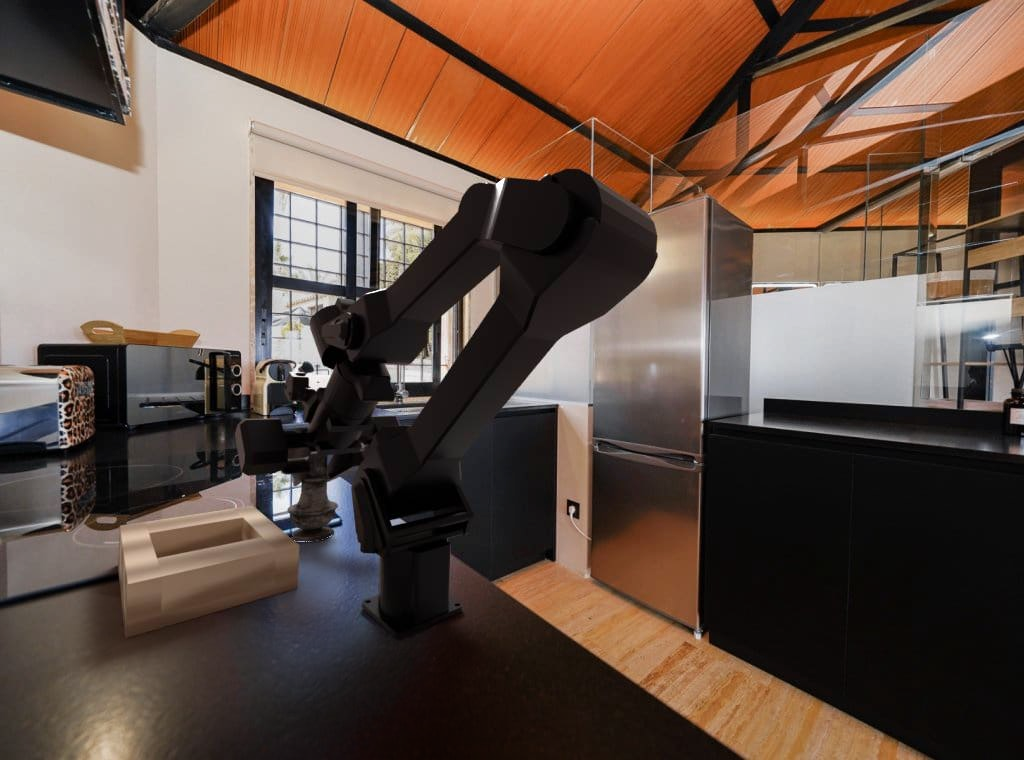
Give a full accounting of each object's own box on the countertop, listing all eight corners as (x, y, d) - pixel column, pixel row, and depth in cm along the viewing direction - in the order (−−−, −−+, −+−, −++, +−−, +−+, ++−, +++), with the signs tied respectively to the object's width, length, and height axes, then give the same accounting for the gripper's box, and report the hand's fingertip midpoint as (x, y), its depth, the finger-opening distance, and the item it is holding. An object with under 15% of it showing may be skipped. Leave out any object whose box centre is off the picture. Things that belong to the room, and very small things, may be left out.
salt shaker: (317, 545, 50) (321, 445, 50) (274, 540, 51) (279, 442, 51) (346, 529, 56) (350, 439, 56) (307, 525, 57) (311, 437, 57)
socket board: (297, 587, 40) (299, 545, 40) (125, 638, 31) (128, 584, 31) (251, 538, 52) (252, 505, 52) (117, 564, 43) (119, 525, 43)
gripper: (400, 357, 58) (361, 430, 65) (243, 344, 44) (217, 436, 52) (430, 418, 52) (384, 490, 59) (260, 424, 39) (228, 515, 46)
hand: (310, 481), depth 54 cm, fingers closed on salt shaker, 4 cm apart
